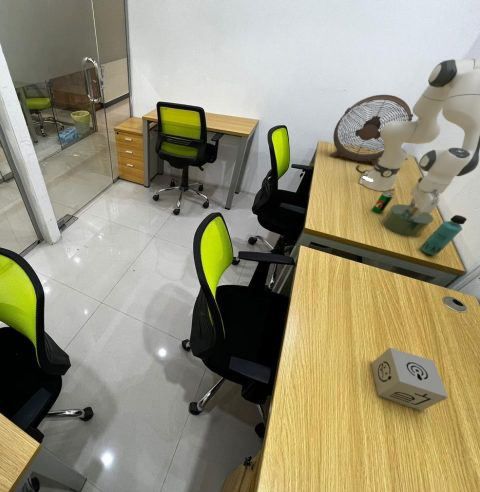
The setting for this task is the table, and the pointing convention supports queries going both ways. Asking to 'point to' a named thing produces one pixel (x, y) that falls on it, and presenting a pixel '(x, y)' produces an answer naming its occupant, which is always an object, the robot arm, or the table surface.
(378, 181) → the robot arm
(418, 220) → the lid
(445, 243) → the beverage bottle
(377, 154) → the fan
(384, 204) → the soda can
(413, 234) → the pot
